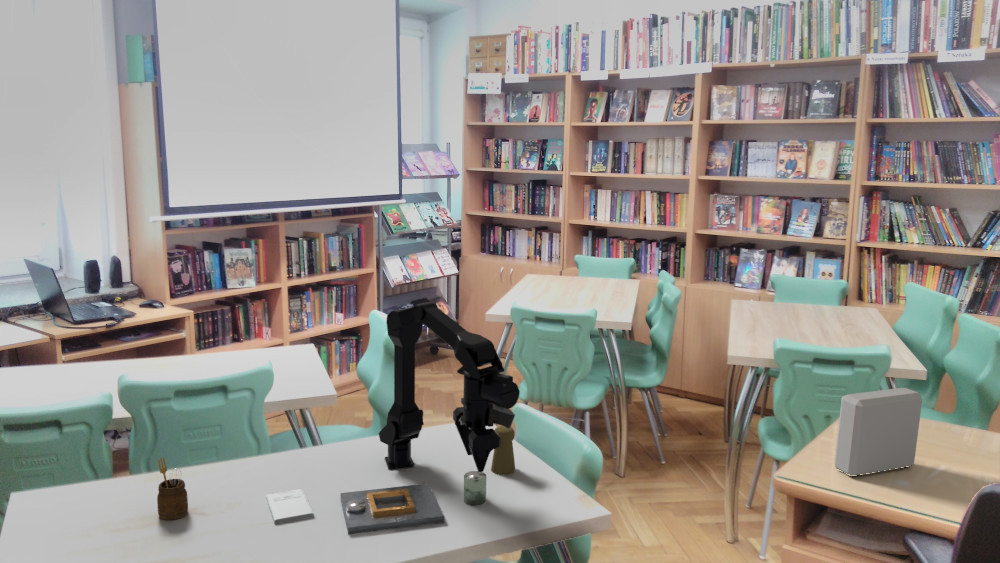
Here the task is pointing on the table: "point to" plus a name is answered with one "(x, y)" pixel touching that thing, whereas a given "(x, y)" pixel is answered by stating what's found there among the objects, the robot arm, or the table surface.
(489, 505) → the table surface
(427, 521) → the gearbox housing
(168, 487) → the utensil holder
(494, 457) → the cork
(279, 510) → the external hard drive
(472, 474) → the can
